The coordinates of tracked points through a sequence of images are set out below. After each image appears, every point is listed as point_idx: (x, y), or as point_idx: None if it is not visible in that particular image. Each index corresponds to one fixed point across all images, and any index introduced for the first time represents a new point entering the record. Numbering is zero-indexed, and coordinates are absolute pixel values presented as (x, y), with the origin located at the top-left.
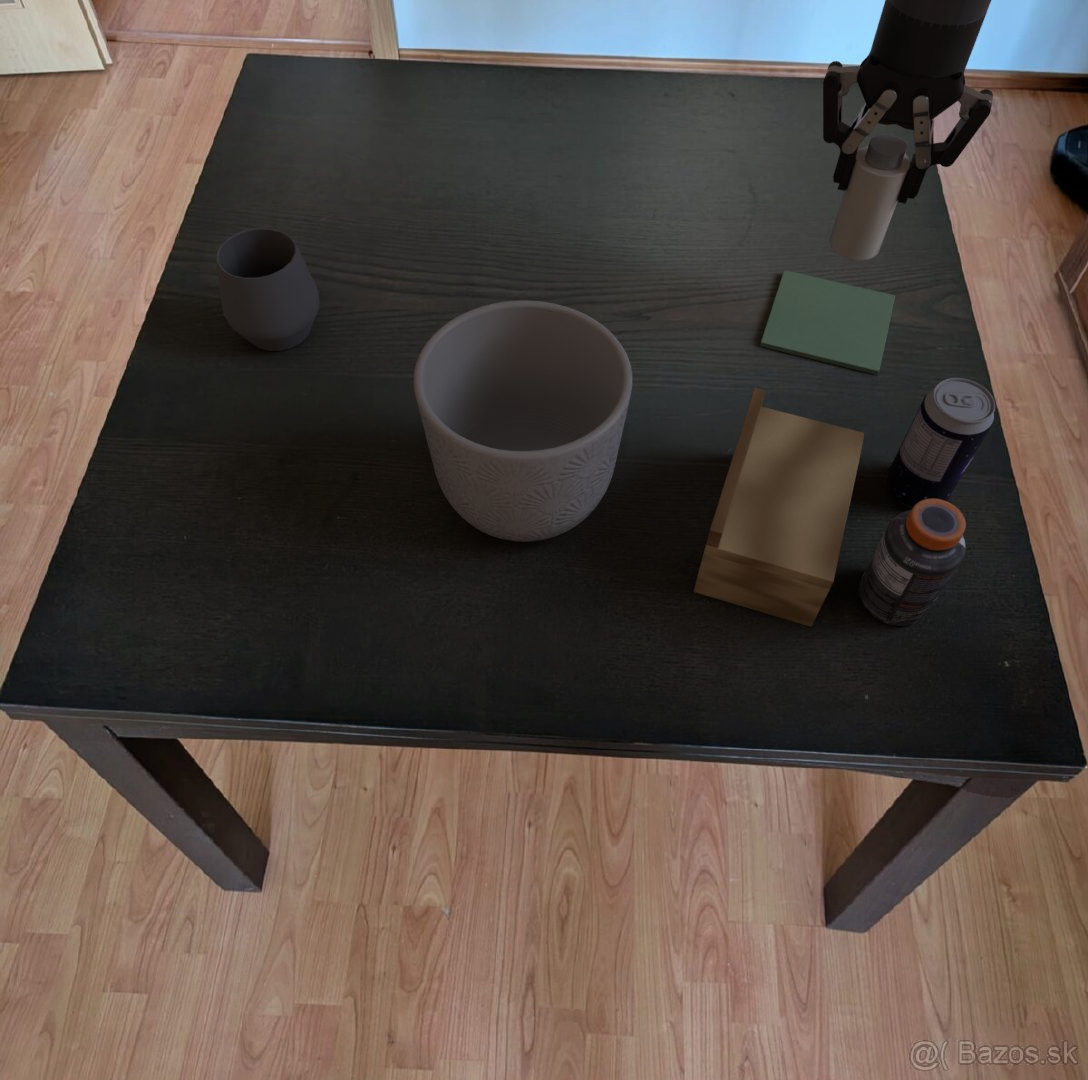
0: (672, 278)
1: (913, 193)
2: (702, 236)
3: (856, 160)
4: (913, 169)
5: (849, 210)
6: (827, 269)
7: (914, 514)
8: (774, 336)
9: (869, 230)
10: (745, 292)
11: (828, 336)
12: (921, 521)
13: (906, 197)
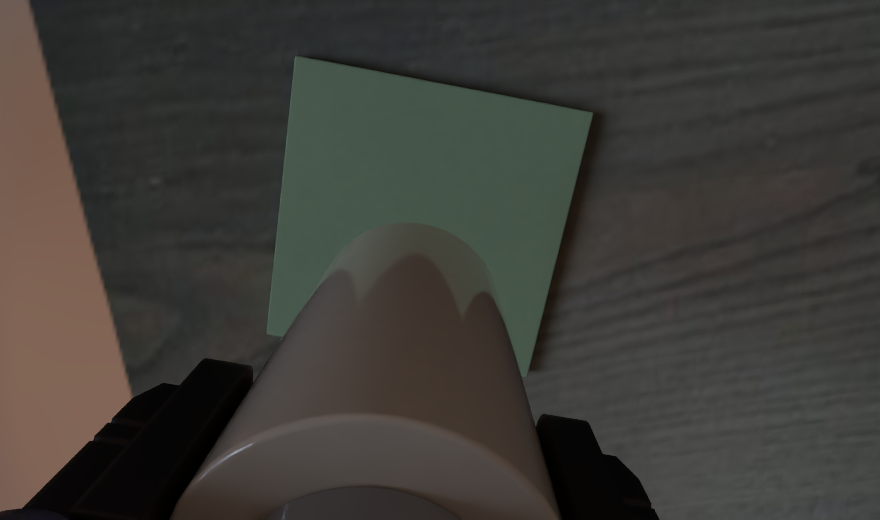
0: (788, 317)
1: (155, 400)
2: (704, 463)
3: None
4: (116, 510)
5: (493, 324)
6: None
7: None
8: (558, 139)
9: (380, 259)
10: (615, 298)
11: (423, 163)
12: None
13: (198, 373)
